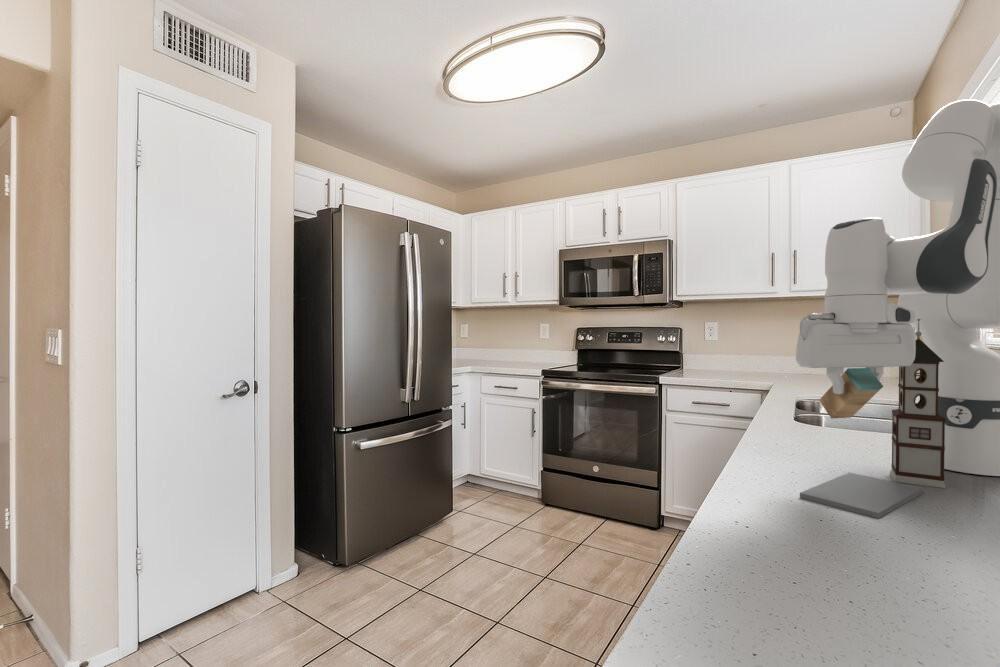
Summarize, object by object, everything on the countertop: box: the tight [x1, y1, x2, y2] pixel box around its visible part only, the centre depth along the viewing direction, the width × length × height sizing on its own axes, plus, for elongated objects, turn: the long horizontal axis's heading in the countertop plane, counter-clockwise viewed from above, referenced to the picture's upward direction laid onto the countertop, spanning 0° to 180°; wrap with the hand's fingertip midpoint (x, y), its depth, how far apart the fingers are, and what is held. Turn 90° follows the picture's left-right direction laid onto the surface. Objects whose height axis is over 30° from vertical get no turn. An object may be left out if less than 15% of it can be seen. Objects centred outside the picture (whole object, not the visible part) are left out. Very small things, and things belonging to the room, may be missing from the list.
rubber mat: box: [799, 472, 924, 519], centre depth 85 cm, size 20×11×1 cm, turn 125°
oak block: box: [818, 367, 884, 419], centre depth 87 cm, size 4×4×9 cm
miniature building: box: [889, 319, 947, 489], centre depth 93 cm, size 7×7×30 cm
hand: (854, 393), depth 86 cm, fingers closed on oak block, 4 cm apart
